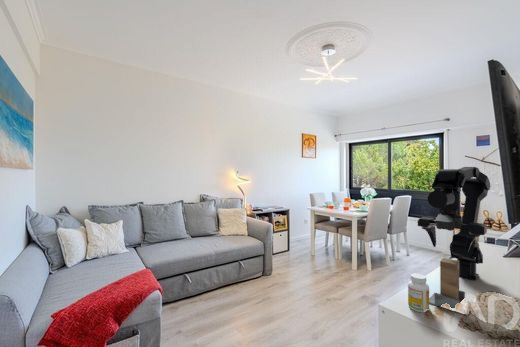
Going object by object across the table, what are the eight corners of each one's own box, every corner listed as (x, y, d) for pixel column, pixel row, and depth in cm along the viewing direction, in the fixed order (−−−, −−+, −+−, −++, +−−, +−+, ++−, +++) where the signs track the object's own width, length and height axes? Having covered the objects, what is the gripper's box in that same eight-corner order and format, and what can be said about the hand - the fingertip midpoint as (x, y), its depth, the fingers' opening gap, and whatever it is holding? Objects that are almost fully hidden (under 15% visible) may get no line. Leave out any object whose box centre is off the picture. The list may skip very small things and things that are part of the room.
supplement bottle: (421, 302, 79) (421, 271, 79) (433, 312, 74) (433, 279, 73) (404, 303, 79) (404, 272, 79) (415, 313, 73) (415, 280, 73)
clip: (434, 293, 84) (434, 283, 84) (473, 305, 77) (473, 294, 77) (426, 302, 79) (426, 291, 79) (467, 316, 71) (467, 303, 71)
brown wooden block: (443, 298, 81) (443, 257, 80) (459, 302, 78) (459, 260, 77) (440, 302, 78) (440, 260, 78) (456, 308, 75) (456, 264, 75)
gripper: (412, 205, 90) (412, 248, 91) (481, 211, 76) (481, 262, 77) (422, 201, 98) (422, 242, 98) (487, 206, 84) (487, 254, 84)
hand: (450, 249), depth 89 cm, fingers open, 9 cm apart
